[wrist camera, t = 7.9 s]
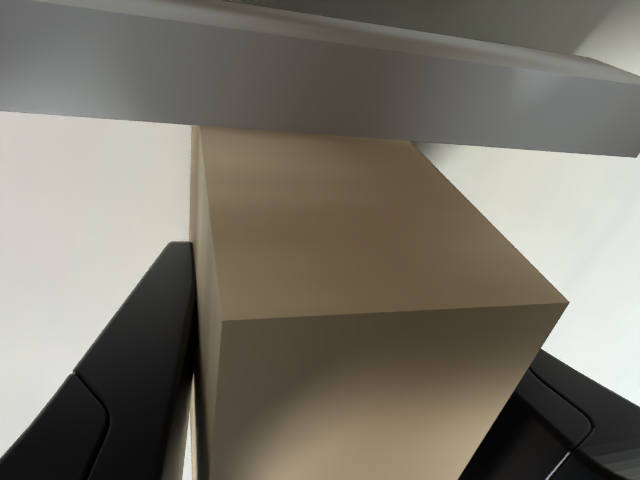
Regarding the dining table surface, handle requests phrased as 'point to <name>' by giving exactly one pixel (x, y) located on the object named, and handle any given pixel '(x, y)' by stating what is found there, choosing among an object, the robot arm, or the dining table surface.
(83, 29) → the scraper
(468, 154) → the dining table surface
